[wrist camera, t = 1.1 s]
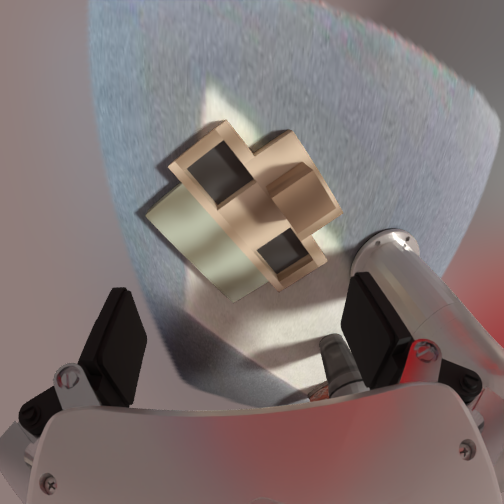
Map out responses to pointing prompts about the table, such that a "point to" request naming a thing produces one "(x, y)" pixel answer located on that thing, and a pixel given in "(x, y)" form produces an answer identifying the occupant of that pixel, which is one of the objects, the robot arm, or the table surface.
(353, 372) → the beverage cup
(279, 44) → the table surface
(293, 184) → the walnut block
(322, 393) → the lighter
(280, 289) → the board
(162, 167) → the table surface
